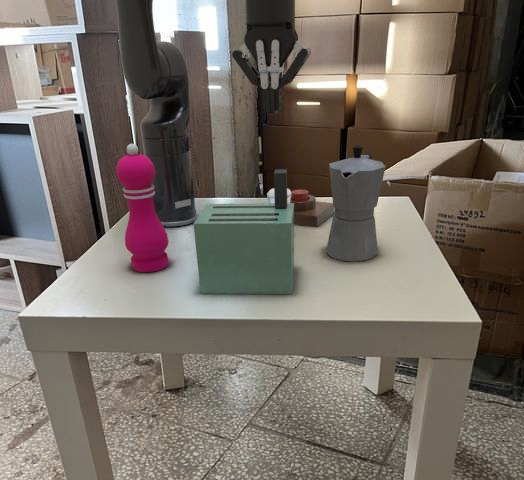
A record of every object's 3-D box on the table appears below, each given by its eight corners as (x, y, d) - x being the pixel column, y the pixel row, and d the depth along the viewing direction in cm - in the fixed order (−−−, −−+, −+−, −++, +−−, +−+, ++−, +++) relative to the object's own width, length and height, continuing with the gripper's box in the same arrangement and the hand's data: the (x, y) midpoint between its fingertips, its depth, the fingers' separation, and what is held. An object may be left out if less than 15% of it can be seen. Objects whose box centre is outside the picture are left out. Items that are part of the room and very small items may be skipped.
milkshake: (292, 230, 104) (292, 179, 99) (290, 239, 99) (290, 186, 94) (269, 230, 104) (268, 179, 99) (267, 239, 100) (265, 186, 95)
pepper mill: (136, 277, 86) (113, 150, 76) (124, 263, 92) (102, 143, 81) (177, 268, 89) (161, 144, 78) (164, 255, 94) (147, 138, 84)
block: (264, 220, 110) (263, 201, 108) (284, 207, 117) (284, 189, 115) (317, 227, 105) (317, 207, 103) (334, 213, 113) (335, 194, 111)
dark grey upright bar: (274, 208, 79) (273, 173, 76) (275, 203, 81) (275, 169, 78) (286, 208, 78) (286, 172, 76) (287, 203, 81) (287, 169, 78)
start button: (288, 201, 109) (288, 193, 108) (295, 197, 112) (295, 188, 111) (304, 203, 107) (304, 194, 106) (311, 198, 110) (311, 190, 109)
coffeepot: (369, 269, 85) (378, 154, 76) (314, 262, 89) (316, 152, 79) (388, 239, 97) (398, 137, 88) (339, 234, 101) (344, 135, 91)
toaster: (200, 293, 80) (193, 223, 74) (211, 268, 88) (205, 203, 82) (291, 294, 78) (291, 222, 73) (294, 268, 87) (293, 202, 81)
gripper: (318, -13, 79) (315, 111, 88) (236, -9, 83) (242, 110, 92) (307, -17, 73) (305, 117, 82) (219, -12, 77) (227, 116, 86)
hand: (272, 113), depth 87 cm, fingers closed
